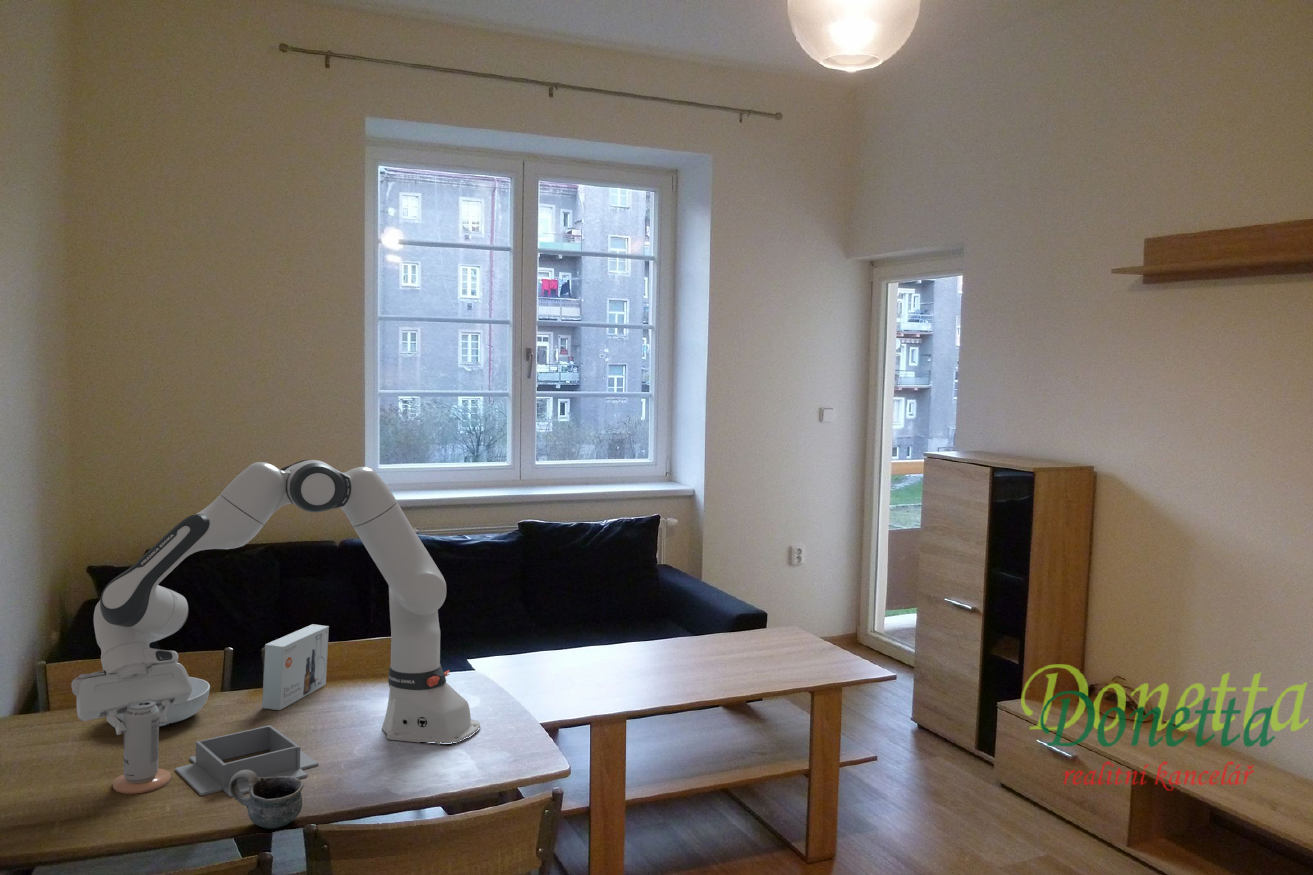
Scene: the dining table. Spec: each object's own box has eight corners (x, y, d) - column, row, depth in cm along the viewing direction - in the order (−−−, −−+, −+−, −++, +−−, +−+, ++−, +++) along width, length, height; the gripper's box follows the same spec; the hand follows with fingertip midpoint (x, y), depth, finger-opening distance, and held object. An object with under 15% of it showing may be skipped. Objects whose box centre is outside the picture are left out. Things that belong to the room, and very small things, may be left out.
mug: (301, 833, 170) (302, 778, 170) (225, 841, 167) (225, 785, 166) (304, 809, 180) (305, 757, 179) (231, 816, 176) (232, 763, 175)
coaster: (182, 777, 191) (182, 773, 191) (139, 797, 182) (139, 793, 182) (144, 769, 195) (144, 765, 195) (100, 788, 185) (100, 784, 185)
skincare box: (281, 711, 230) (282, 646, 229) (261, 709, 231) (261, 644, 230) (328, 684, 251) (329, 624, 250) (309, 682, 252) (310, 623, 251)
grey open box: (281, 738, 213) (281, 716, 213) (326, 771, 197) (327, 747, 196) (168, 764, 198) (168, 740, 197) (208, 803, 181) (208, 777, 180)
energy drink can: (127, 772, 190) (127, 699, 189) (160, 770, 192) (161, 697, 191) (120, 786, 185) (120, 710, 184) (154, 783, 187) (155, 708, 185)
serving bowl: (86, 726, 216) (86, 696, 216) (164, 699, 236) (164, 671, 235) (155, 742, 209) (156, 711, 208) (230, 712, 228) (230, 683, 228)
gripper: (72, 668, 185) (85, 732, 178) (185, 650, 199) (201, 709, 192) (66, 685, 188) (79, 749, 182) (178, 666, 202) (193, 725, 196)
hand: (142, 728), depth 187 cm, fingers closed on energy drink can, 6 cm apart
